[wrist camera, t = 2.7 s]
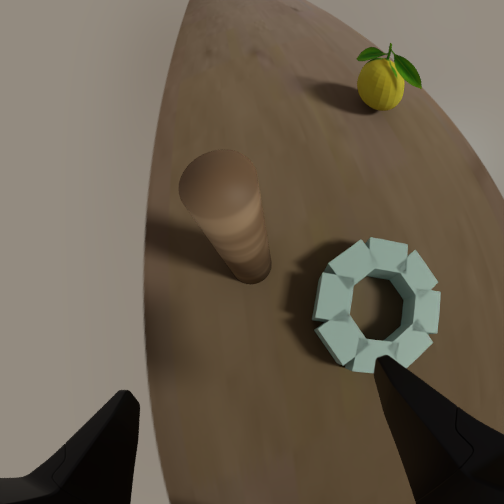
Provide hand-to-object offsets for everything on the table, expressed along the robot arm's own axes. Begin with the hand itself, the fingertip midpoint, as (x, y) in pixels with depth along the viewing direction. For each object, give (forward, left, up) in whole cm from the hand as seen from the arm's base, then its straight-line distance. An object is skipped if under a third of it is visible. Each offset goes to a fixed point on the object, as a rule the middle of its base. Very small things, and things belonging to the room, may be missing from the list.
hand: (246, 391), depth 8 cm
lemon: (+30, -8, -13) cm, 34 cm away
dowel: (+8, +3, -13) cm, 16 cm away
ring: (+6, -8, -13) cm, 16 cm away
